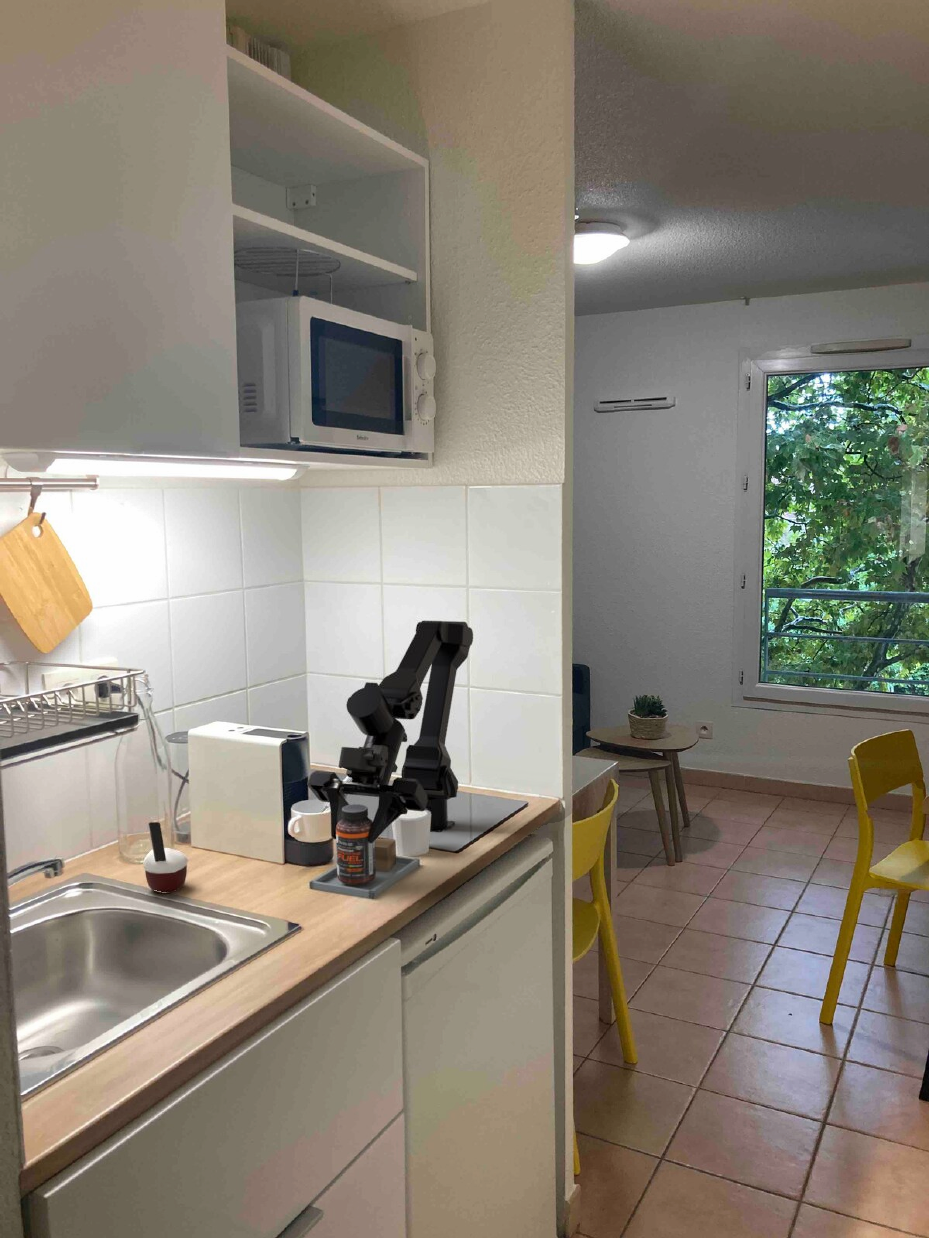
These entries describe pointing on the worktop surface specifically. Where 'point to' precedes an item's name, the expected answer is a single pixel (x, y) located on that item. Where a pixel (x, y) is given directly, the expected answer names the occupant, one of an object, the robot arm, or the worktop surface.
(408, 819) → the white cup
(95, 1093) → the worktop surface
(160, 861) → the cocoa
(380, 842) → the walnut block
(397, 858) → the tray
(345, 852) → the supplement bottle
